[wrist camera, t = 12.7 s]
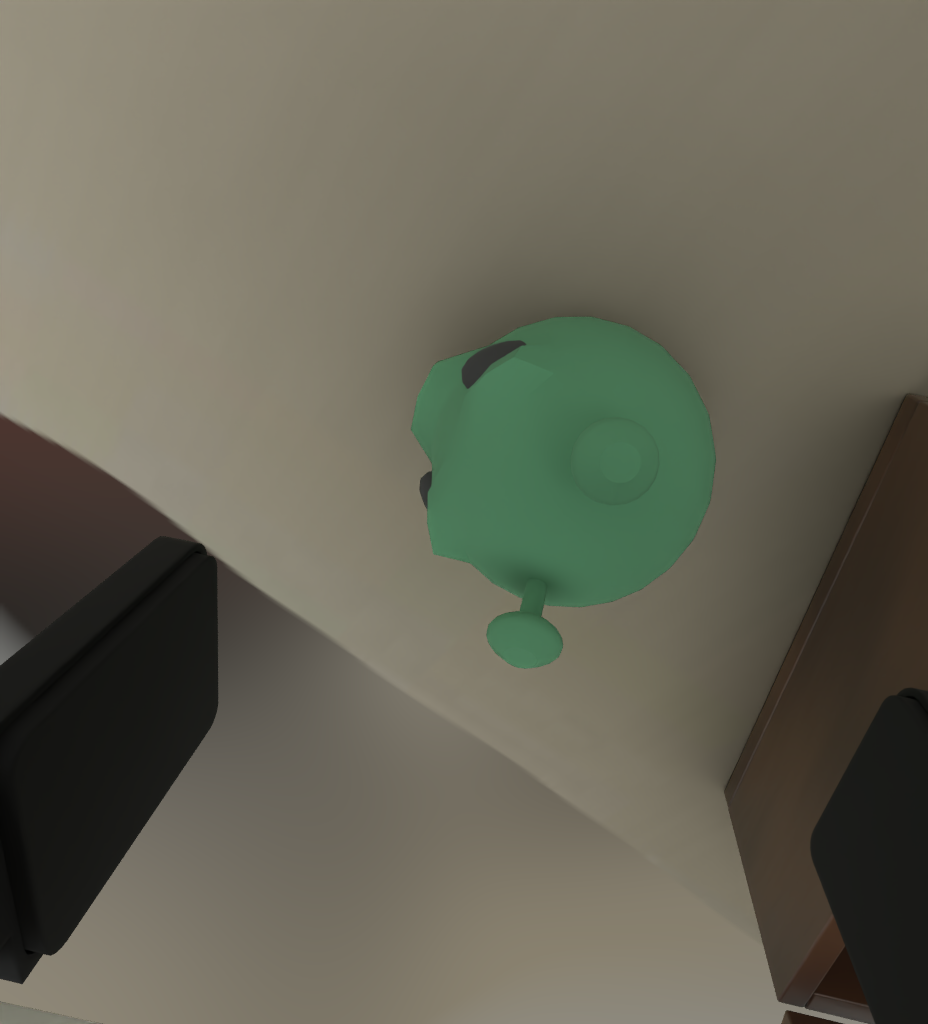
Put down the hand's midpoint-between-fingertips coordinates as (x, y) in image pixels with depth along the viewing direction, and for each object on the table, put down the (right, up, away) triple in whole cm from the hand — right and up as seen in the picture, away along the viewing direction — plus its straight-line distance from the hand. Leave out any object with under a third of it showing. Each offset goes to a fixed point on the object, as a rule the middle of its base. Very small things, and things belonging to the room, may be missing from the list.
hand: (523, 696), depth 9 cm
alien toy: (+2, +6, +12) cm, 13 cm away
